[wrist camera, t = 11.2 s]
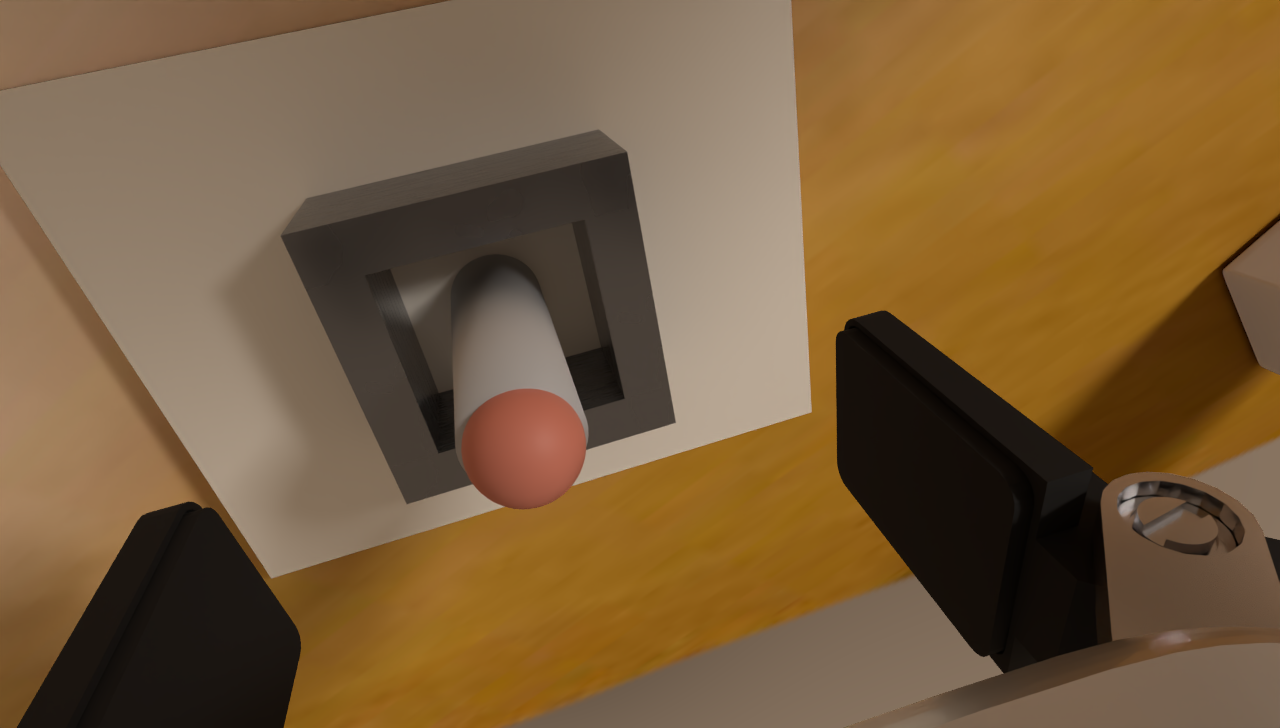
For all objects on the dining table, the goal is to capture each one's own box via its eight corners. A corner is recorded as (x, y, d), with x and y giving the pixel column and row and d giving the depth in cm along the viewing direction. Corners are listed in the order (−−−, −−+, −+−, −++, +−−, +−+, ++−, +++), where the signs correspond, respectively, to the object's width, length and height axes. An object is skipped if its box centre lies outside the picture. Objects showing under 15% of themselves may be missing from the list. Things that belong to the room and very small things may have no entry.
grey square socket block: (306, 198, 16) (280, 235, 13) (598, 129, 17) (626, 151, 14) (411, 438, 19) (406, 504, 17) (646, 370, 20) (675, 422, 18)
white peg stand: (-9, 92, 14) (-589, 205, 6) (766, -63, 17) (1068, -126, 9) (279, 551, 21) (181, 882, 13) (795, 394, 24) (977, 594, 16)
